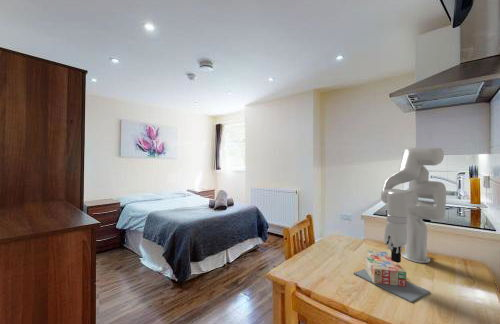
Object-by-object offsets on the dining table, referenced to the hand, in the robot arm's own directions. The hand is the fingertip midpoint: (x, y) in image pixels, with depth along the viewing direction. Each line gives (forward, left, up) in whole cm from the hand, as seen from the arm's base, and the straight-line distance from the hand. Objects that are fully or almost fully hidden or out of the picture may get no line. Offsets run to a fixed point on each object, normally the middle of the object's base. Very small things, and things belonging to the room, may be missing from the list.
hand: (395, 261), depth 100 cm
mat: (+5, 0, -8) cm, 10 cm away
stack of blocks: (-4, -2, -5) cm, 6 cm away
